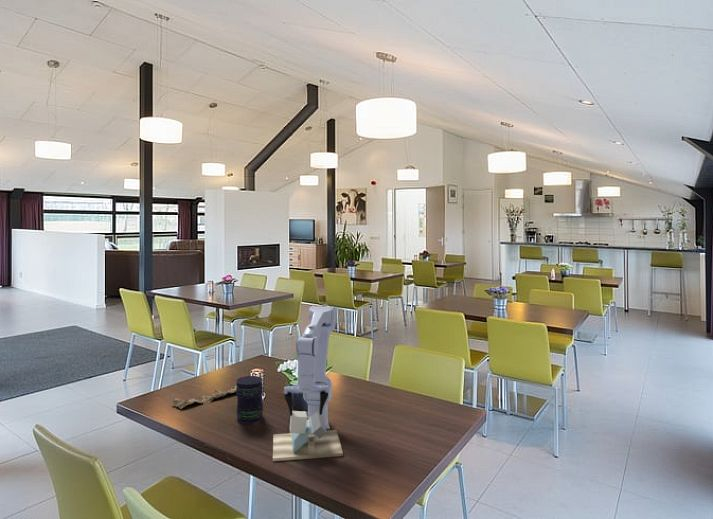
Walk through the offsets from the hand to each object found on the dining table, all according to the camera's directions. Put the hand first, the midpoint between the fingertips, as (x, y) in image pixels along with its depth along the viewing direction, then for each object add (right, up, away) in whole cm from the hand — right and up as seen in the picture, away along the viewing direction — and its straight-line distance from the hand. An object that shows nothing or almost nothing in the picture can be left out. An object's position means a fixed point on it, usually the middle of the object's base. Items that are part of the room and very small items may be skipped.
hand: (306, 414), depth 154 cm
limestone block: (-3, -5, 0) cm, 6 cm away
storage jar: (-24, -10, +24) cm, 35 cm away
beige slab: (0, -11, +1) cm, 11 cm away
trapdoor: (+2, -8, +1) cm, 8 cm away
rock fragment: (-44, -9, +46) cm, 65 cm away
